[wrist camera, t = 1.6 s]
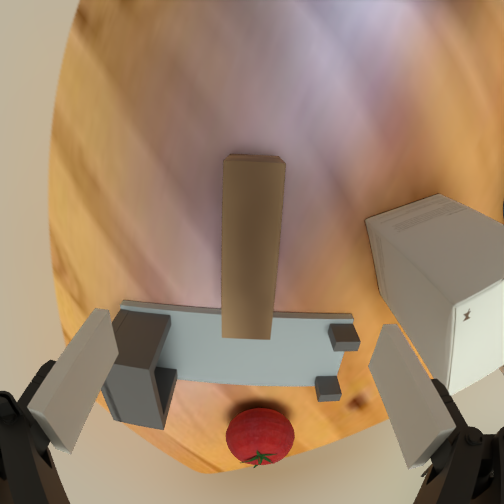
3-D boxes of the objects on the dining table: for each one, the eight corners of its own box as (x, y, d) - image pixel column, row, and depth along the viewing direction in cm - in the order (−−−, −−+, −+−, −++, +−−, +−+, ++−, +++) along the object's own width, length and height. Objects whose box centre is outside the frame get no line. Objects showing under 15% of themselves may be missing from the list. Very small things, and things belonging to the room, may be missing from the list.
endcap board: (123, 300, 30) (88, 354, 21) (351, 313, 30) (377, 373, 22) (137, 367, 34) (115, 422, 25) (331, 379, 34) (346, 437, 26)
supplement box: (378, 297, 29) (441, 404, 16) (362, 217, 26) (452, 305, 12) (448, 268, 28) (530, 350, 14) (441, 191, 25) (552, 249, 11)
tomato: (261, 438, 39) (262, 482, 32) (214, 416, 37) (208, 463, 30) (305, 413, 37) (312, 460, 29) (257, 387, 34) (258, 440, 27)
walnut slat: (227, 299, 30) (221, 337, 24) (230, 153, 24) (223, 160, 19) (267, 301, 30) (270, 339, 24) (278, 156, 24) (285, 163, 19)
